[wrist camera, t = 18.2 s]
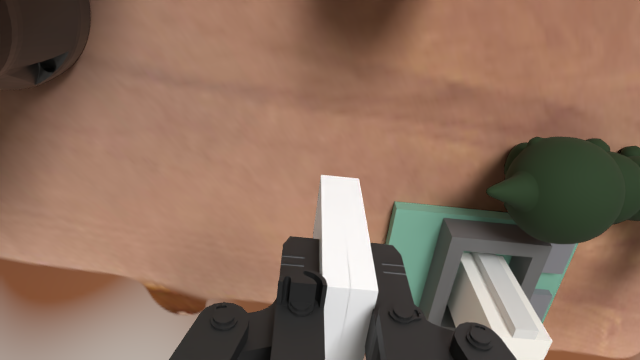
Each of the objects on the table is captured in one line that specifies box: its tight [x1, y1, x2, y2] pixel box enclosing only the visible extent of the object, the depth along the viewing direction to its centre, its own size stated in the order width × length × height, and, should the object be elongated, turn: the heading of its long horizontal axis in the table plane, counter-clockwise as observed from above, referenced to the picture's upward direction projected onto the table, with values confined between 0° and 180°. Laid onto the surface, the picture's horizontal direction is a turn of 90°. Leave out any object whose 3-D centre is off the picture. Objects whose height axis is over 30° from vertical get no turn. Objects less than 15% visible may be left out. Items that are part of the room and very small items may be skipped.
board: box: [385, 202, 578, 331], centre depth 51 cm, size 20×14×5 cm
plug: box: [447, 252, 552, 360], centre depth 46 cm, size 5×7×12 cm
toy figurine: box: [486, 137, 640, 244], centre depth 39 cm, size 9×19×25 cm
